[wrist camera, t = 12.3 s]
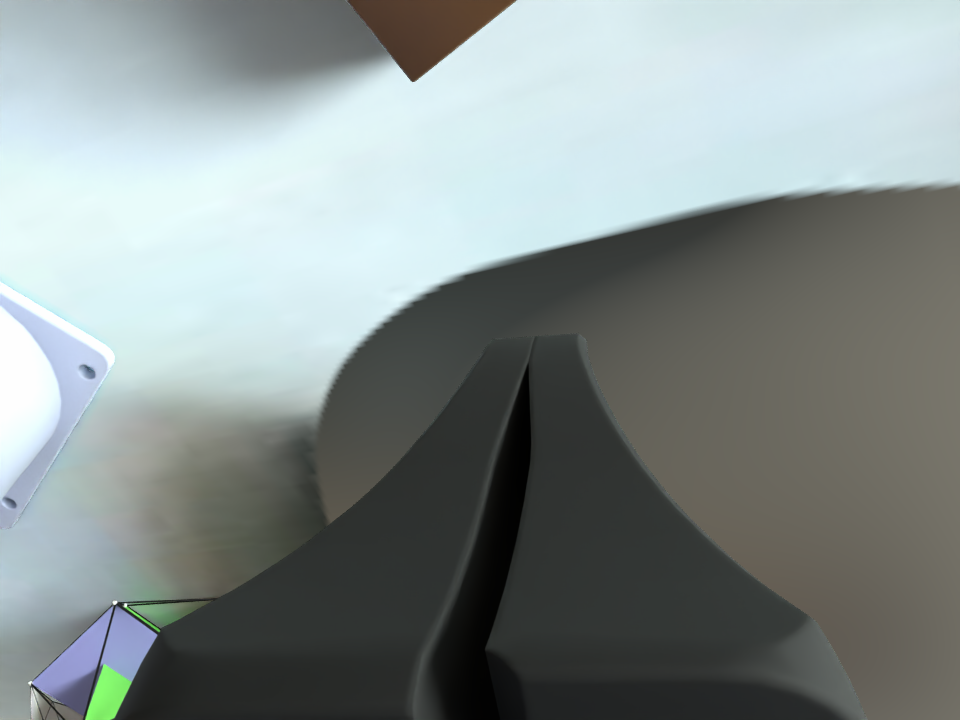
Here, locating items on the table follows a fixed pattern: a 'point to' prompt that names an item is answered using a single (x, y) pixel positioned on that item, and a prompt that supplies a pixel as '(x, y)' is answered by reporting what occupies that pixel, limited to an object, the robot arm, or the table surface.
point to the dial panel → (425, 27)
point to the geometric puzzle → (96, 667)
